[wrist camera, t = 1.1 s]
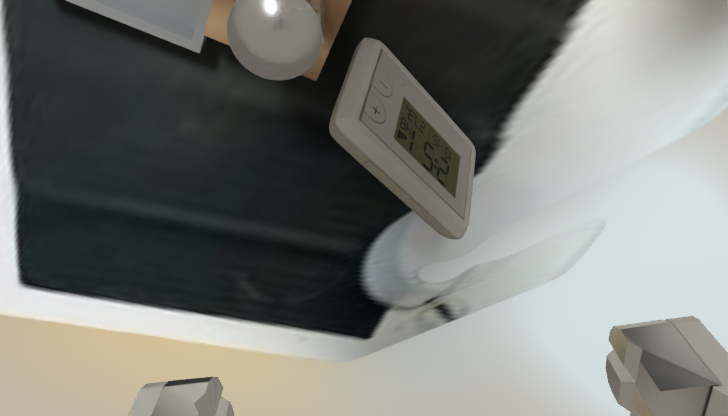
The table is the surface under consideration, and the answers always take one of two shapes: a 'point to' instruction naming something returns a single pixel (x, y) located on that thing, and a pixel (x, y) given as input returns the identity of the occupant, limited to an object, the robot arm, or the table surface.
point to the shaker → (276, 36)
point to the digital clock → (405, 138)
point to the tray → (159, 18)
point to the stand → (334, 3)
